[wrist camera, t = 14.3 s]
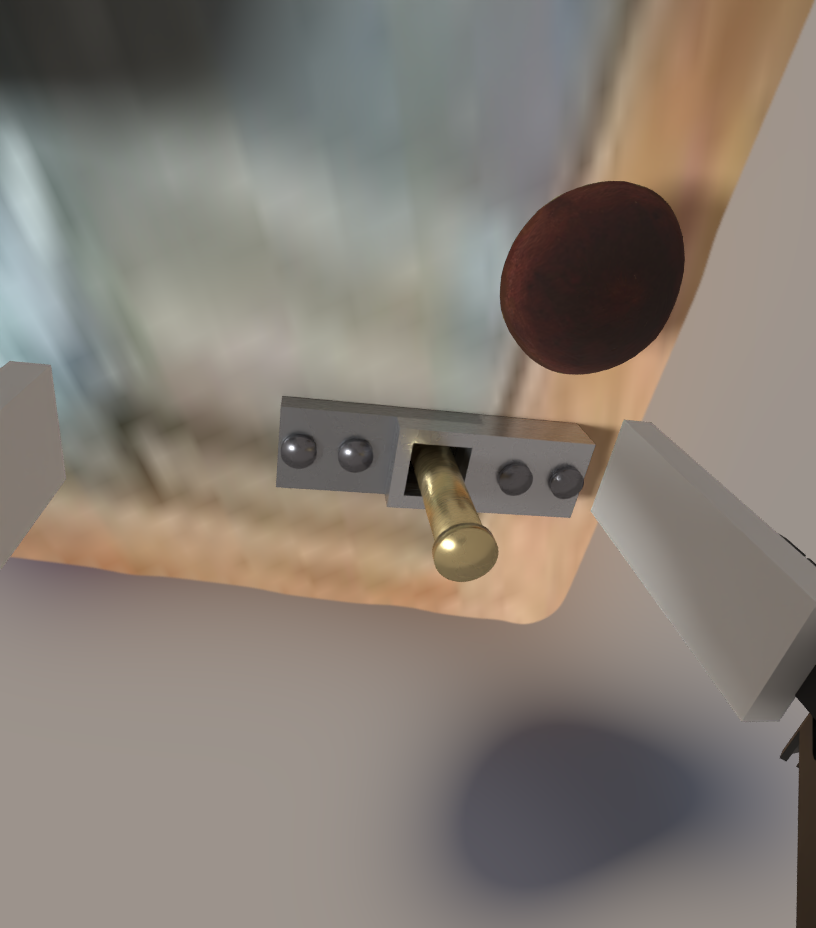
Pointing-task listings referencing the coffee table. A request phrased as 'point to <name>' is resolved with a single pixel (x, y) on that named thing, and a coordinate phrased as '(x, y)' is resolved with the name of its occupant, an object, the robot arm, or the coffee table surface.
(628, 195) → the decorative mushroom
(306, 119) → the coffee table surface
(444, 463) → the brass pin
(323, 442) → the riveted socket bracket
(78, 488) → the coffee table surface
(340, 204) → the coffee table surface
